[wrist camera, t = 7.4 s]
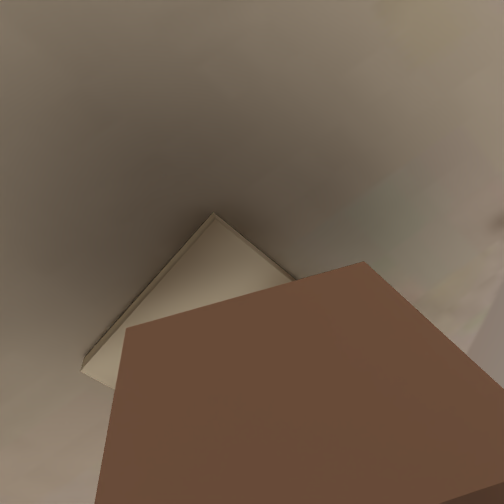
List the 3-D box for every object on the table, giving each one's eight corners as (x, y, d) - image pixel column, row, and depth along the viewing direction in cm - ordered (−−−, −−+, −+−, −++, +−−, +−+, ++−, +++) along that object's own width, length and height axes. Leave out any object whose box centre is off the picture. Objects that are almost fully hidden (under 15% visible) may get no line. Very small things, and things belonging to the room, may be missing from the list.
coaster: (84, 357, 19) (80, 371, 18) (213, 212, 18) (215, 219, 17) (230, 439, 23) (232, 455, 22) (348, 322, 21) (356, 333, 20)
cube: (193, 495, 10) (211, 825, 6) (126, 327, 8) (73, 626, 4) (384, 435, 11) (543, 696, 6) (364, 261, 9) (578, 456, 4)
